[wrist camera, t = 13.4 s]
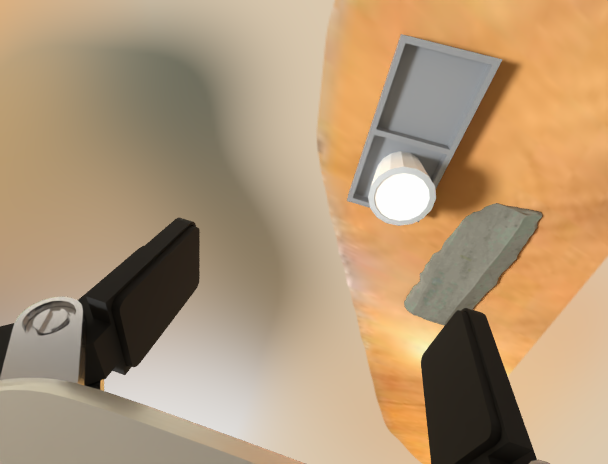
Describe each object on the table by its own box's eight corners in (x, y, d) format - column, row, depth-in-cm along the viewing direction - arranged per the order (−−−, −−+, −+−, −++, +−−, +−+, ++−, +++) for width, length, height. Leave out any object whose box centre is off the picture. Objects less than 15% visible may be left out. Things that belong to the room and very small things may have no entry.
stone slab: (400, 299, 52) (458, 324, 50) (399, 310, 49) (459, 337, 48) (469, 185, 39) (550, 212, 37) (471, 193, 37) (557, 223, 35)
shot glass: (402, 133, 35) (405, 153, 29) (441, 173, 36) (451, 199, 30) (359, 173, 38) (354, 197, 33) (396, 208, 40) (397, 236, 34)
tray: (348, 192, 41) (346, 200, 39) (400, 34, 31) (401, 34, 29) (417, 212, 41) (418, 222, 39) (494, 58, 30) (502, 59, 28)
